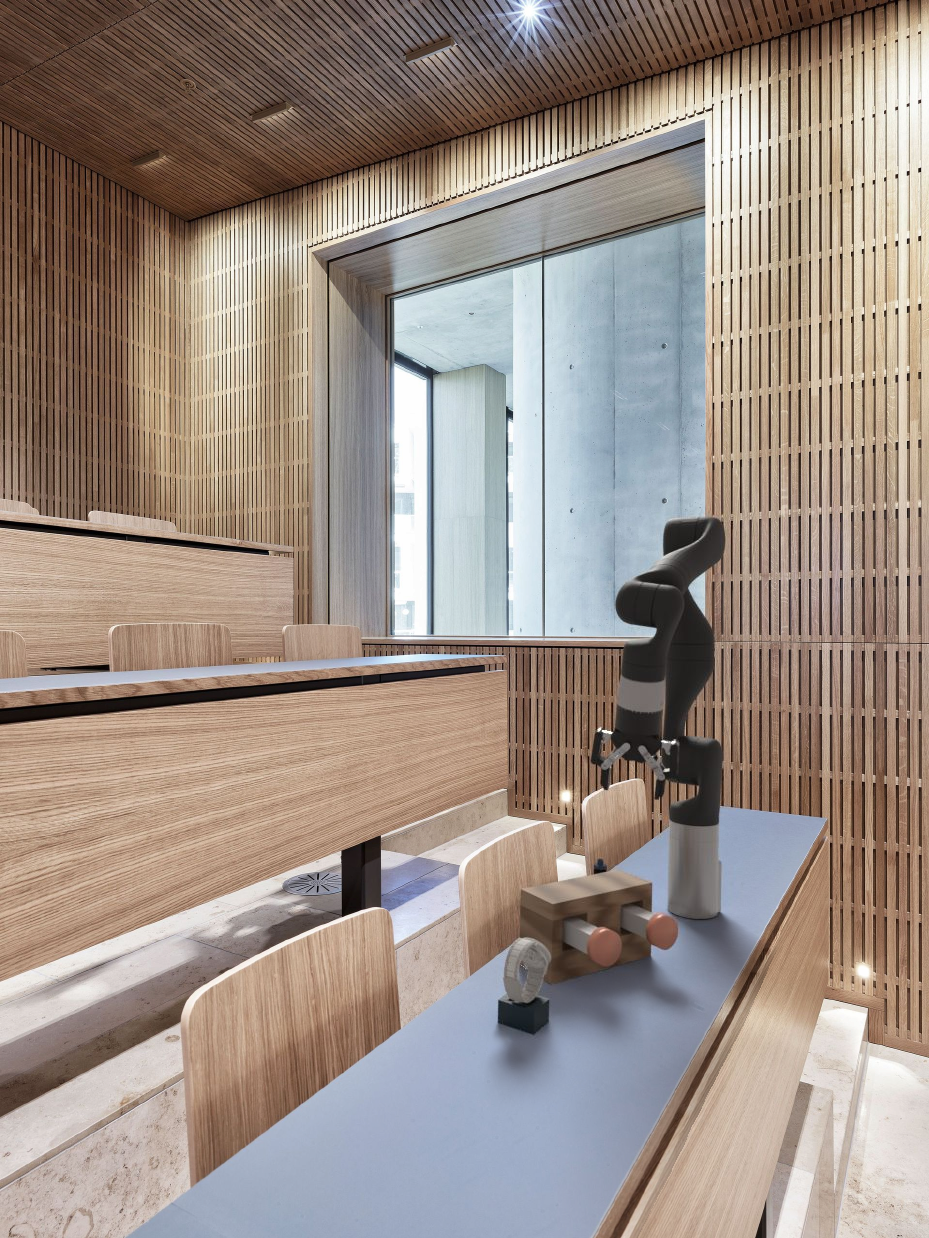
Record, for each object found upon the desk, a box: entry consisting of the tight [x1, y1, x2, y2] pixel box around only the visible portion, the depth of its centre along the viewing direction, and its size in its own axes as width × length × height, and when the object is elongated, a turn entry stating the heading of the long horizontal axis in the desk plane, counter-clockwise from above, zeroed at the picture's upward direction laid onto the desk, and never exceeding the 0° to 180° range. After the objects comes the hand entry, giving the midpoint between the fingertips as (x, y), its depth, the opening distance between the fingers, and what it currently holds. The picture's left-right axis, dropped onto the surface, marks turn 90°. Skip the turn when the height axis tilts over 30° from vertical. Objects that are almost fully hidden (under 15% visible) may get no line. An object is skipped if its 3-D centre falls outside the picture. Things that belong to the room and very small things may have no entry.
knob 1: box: [562, 916, 622, 967], centre depth 120 cm, size 5×10×5 cm, turn 33°
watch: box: [497, 937, 551, 1036], centre depth 108 cm, size 6×8×11 cm
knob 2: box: [620, 903, 679, 951], centre depth 126 cm, size 5×10×5 cm, turn 33°
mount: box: [519, 869, 653, 985], centre depth 128 cm, size 21×8×12 cm, turn 123°
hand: (631, 793), depth 135 cm, fingers open, 8 cm apart
